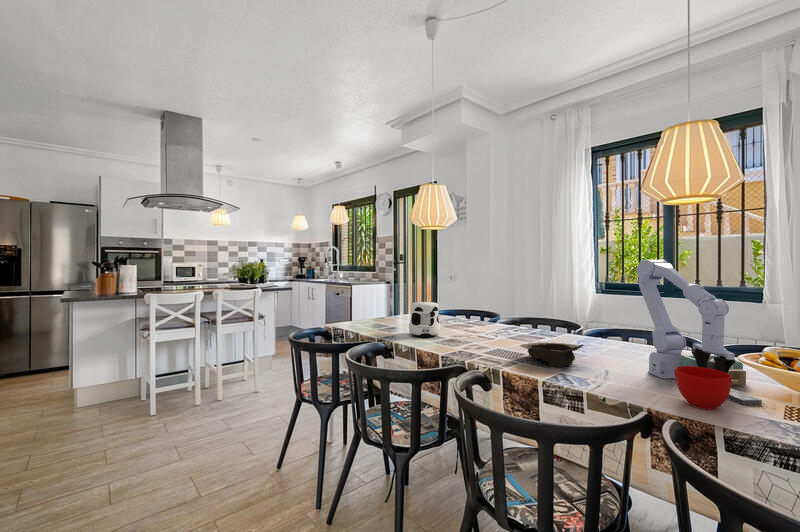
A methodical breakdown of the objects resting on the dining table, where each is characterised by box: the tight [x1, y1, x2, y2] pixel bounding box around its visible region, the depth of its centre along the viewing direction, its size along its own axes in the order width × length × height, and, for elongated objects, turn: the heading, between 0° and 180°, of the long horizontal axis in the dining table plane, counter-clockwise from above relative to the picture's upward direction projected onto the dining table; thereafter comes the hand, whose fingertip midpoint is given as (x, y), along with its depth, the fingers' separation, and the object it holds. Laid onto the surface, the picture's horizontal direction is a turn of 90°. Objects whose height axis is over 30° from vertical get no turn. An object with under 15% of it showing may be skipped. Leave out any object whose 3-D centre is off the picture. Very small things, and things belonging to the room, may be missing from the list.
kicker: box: [707, 361, 747, 387], centre depth 129 cm, size 16×7×9 cm, turn 91°
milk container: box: [408, 301, 441, 338], centre depth 213 cm, size 17×17×18 cm
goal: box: [681, 354, 744, 370], centre depth 140 cm, size 15×10×7 cm, turn 91°
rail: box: [726, 387, 763, 406], centre depth 123 cm, size 6×18×2 cm, turn 1°
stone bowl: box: [519, 342, 584, 368], centre depth 161 cm, size 25×25×9 cm
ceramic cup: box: [675, 366, 732, 411], centre depth 115 cm, size 13×17×10 cm
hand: (711, 375), depth 128 cm, fingers open, 7 cm apart
